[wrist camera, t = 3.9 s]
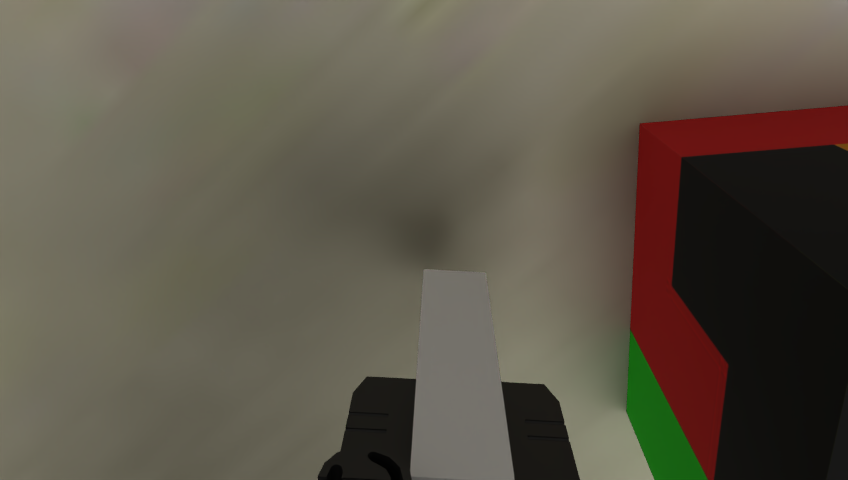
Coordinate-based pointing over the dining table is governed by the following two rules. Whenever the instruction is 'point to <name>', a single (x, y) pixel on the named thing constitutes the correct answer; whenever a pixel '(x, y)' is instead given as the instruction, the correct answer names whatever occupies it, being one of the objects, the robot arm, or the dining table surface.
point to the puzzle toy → (742, 297)
